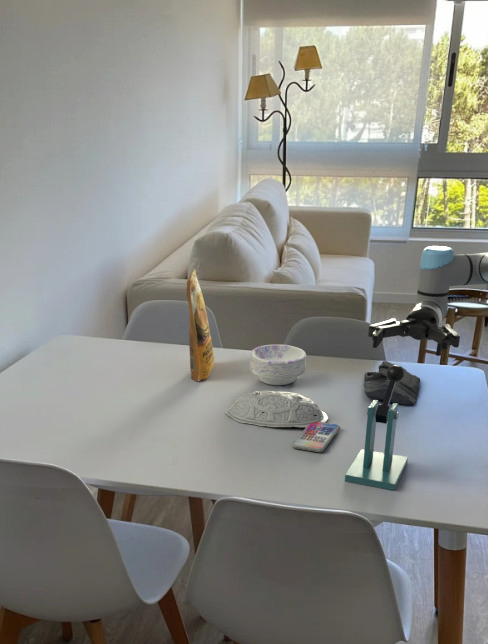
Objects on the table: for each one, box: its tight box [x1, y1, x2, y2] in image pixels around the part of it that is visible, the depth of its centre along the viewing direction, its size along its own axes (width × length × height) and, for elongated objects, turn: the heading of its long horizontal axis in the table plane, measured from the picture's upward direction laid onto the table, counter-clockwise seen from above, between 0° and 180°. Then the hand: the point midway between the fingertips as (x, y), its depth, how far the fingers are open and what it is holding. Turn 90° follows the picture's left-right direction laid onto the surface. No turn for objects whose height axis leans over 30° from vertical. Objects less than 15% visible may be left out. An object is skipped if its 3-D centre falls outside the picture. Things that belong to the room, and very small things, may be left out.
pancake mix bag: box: [186, 268, 215, 382], centre depth 194 cm, size 7×19×28 cm, turn 171°
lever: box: [375, 364, 404, 425], centre depth 142 cm, size 14×4×4 cm, turn 157°
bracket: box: [344, 399, 409, 492], centre depth 142 cm, size 13×10×15 cm
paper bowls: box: [249, 344, 307, 386], centre depth 193 cm, size 15×15×8 cm
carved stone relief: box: [225, 390, 329, 428], centre depth 171 cm, size 16×25×7 cm, turn 73°
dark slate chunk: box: [363, 360, 421, 406], centre depth 187 cm, size 15×22×5 cm
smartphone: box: [291, 421, 341, 453], centre depth 160 cm, size 7×1×15 cm
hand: (406, 345), depth 152 cm, fingers open, 13 cm apart
